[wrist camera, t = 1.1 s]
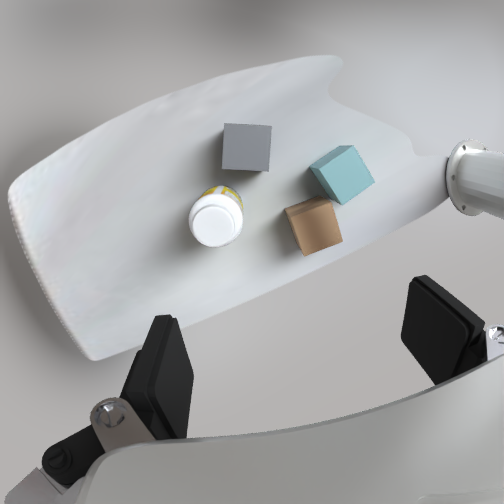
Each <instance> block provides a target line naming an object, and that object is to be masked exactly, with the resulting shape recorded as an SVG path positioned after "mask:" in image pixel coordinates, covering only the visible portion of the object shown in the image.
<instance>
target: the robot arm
mask: <svg viewBox="0 0 504 504" xmlns="http://www.w3.org/2000/svg"><path fill="white" fill-rule="evenodd" d="M446 181H447V189H448V193H449V196H450V199H451V201H452V203H453V205H454V206H455V207H456V208H457V210H459V211H460V212H461V213H464V214H466V215H469V216H476V215H478V214H480V213H482V212H483V211H484V212H487V213H489V214H492V215H494V216H496V217H499V218H501V219H504V153H500V152H493V151H488V149H487V148H486V147H485V146H484V145H483V144H482V143H481V142H479V141H476V140H470V139H468V140H463V141H461V142H460V143H459V144H457V145H456V147H455V148H454V149H453V151H452V153H451V155H450V157H449V161H448V165H447V172H446ZM484 325H485V322H484V321H483V320H482V319H481V318H480V317H478V316H477V315H476V314H475V313H474V312H472V311H471V310H470V309H469V308H468V307H466V306H465V305H464V304H463V303H462V302H460V301H459V300H458V299H457V298H455V297H454V296H453V295H452V294H450V293H449V292H448V291H447V290H445V289H444V288H443V287H441V286H440V285H439V284H438V283H436V282H435V281H433V280H432V279H431V278H430V277H428V276H427V275H422V276H418V277H414V278H413V279H412V281H411V282H410V284H409V290H408V297H407V303H406V309H405V315H404V321H403V326H402V332H401V339H402V342H403V343H404V344H405V346H406V347H407V348H408V350H409V351H410V352H411V353H412V355H413V356H414V357H415V359H416V360H417V361H418V363H419V364H420V365H421V367H422V368H423V369H424V371H425V372H426V373H427V374H428V376H429V377H430V378H431V380H432V381H433V383H434V384H435V385H436V386H433V387H431V388H429V389H426V390H424V391H421V392H419V393H416V394H413V395H411V396H408V397H406V398H402V399H400V400H397V401H394V402H391V403H388V404H385V405H382V406H379V407H376V408H373V409H369V410H366V411H362V412H359V413H355V414H352V415H348V416H344V417H340V418H336V419H332V420H328V421H323V422H318V423H314V424H309V425H304V426H299V427H293V428H288V429H281V430H274V431H267V432H260V433H251V434H241V435H231V436H220V437H203V438H186V437H187V428H188V419H189V411H190V403H191V394H192V387H193V380H194V374H193V369H192V366H191V363H190V360H189V357H188V354H187V351H186V348H185V344H184V341H183V338H182V334H181V331H180V328H179V324H178V321H177V319H176V318H172V316H171V315H158V316H155V318H154V320H153V323H152V325H151V328H150V330H149V332H148V335H147V337H146V340H145V342H144V345H143V347H142V350H139V351H138V352H137V354H136V356H135V358H134V361H133V364H132V366H131V369H130V371H129V374H128V376H127V379H126V381H125V384H124V387H123V389H122V392H121V395H120V397H119V398H116V397H114V398H108V399H105V400H102V401H101V402H99V403H98V404H97V405H96V406H95V407H94V408H93V410H92V411H91V415H90V421H91V425H90V426H88V427H86V428H84V429H82V430H81V431H79V432H77V433H75V434H73V435H71V436H69V437H68V438H66V439H64V440H62V441H60V442H58V443H56V444H54V445H52V446H51V447H49V448H48V449H47V450H46V452H45V453H44V455H43V457H42V466H43V467H42V468H41V469H40V470H39V469H38V468H37V467H36V468H35V469H34V470H33V471H32V472H31V473H30V474H29V475H27V476H26V477H25V478H24V479H23V480H22V481H21V482H20V483H19V484H18V485H16V486H15V487H14V488H13V489H12V490H11V491H10V492H9V493H8V494H7V496H6V498H5V504H504V325H500V324H495V325H491V326H489V327H488V328H487V329H486V332H485V331H484V330H483V328H484Z"/></svg>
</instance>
